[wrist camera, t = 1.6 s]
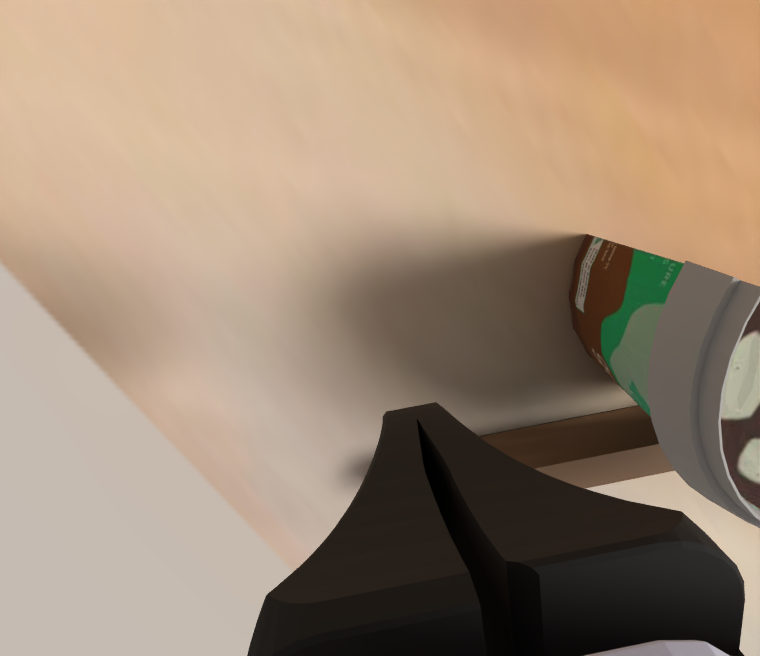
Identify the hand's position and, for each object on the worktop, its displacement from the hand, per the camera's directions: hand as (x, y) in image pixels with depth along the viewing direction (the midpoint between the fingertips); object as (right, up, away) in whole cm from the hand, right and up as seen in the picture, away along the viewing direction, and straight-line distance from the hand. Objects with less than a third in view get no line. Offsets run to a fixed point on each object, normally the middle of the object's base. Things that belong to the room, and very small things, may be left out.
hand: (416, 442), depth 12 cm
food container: (+11, +2, +11) cm, 15 cm away
